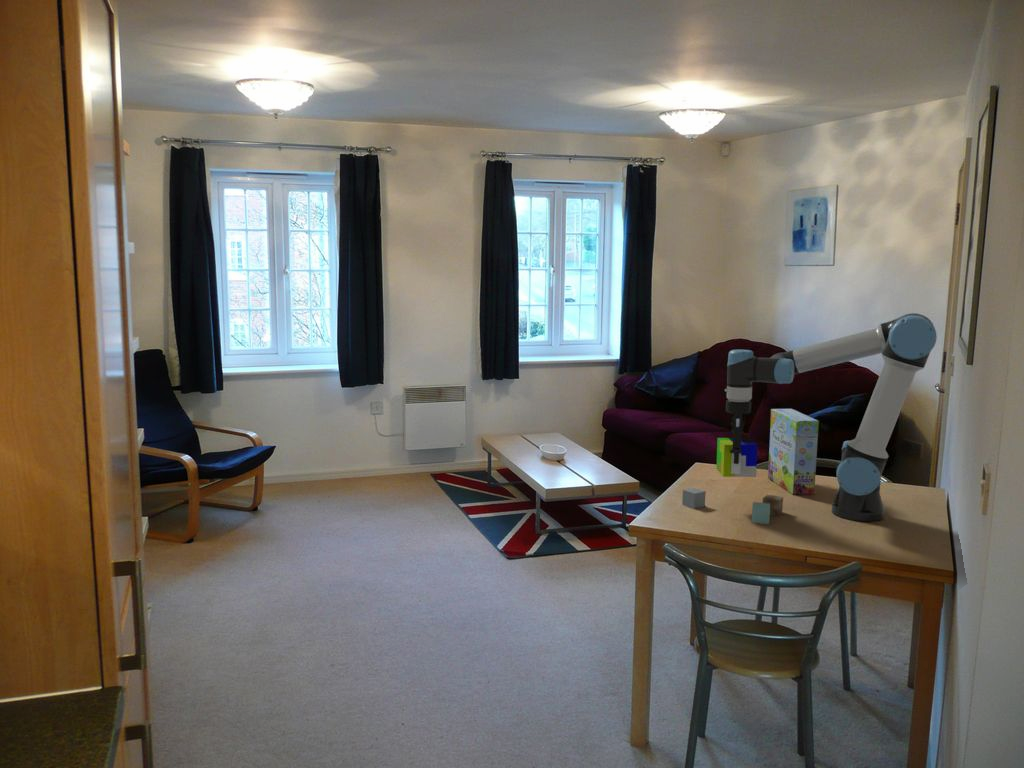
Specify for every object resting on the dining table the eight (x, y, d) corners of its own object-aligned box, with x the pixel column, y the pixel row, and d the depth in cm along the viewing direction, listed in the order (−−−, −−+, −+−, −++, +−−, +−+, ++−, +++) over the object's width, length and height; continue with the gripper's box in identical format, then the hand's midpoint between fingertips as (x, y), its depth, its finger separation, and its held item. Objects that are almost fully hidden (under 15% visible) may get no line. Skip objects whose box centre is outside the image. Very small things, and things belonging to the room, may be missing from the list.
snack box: (765, 478, 306) (769, 408, 302) (788, 478, 307) (793, 408, 303) (791, 495, 284) (796, 420, 280) (815, 495, 285) (821, 419, 281)
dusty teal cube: (768, 519, 258) (769, 503, 257) (769, 524, 254) (770, 508, 253) (751, 517, 260) (752, 501, 259) (751, 522, 255) (752, 506, 254)
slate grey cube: (704, 506, 270) (705, 491, 270) (693, 509, 267) (694, 493, 267) (693, 502, 274) (693, 487, 274) (682, 505, 272) (682, 489, 271)
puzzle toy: (756, 476, 261) (757, 444, 259) (723, 476, 261) (724, 444, 260) (748, 468, 271) (749, 438, 269) (716, 468, 271) (717, 438, 269)
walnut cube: (782, 512, 265) (783, 497, 265) (778, 516, 261) (779, 500, 260) (766, 509, 268) (767, 494, 267) (761, 513, 264) (762, 498, 263)
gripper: (727, 393, 275) (724, 459, 278) (725, 405, 252) (722, 477, 255) (751, 394, 273) (748, 461, 276) (751, 406, 250) (748, 479, 253)
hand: (736, 469), depth 266 cm, fingers closed on puzzle toy, 11 cm apart
